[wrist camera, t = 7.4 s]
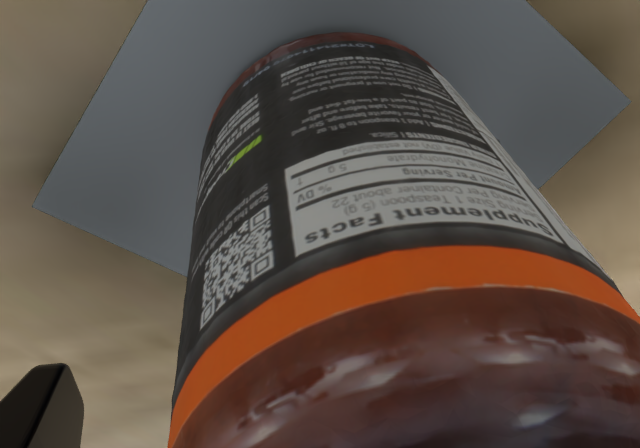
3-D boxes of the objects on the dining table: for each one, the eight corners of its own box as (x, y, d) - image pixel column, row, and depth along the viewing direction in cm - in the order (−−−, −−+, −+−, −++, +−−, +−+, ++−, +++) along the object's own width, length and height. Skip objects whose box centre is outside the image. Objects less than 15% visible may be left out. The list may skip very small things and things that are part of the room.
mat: (277, -229, 10) (281, -234, 9) (609, 85, 14) (631, 101, 13) (43, 183, 14) (31, 206, 13) (356, 331, 18) (361, 355, 17)
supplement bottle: (409, 267, 16) (648, 919, 6) (186, 235, 14) (80, 1010, 5) (504, 56, 12) (1268, 755, 3) (228, -13, 11) (146, 891, 2)
